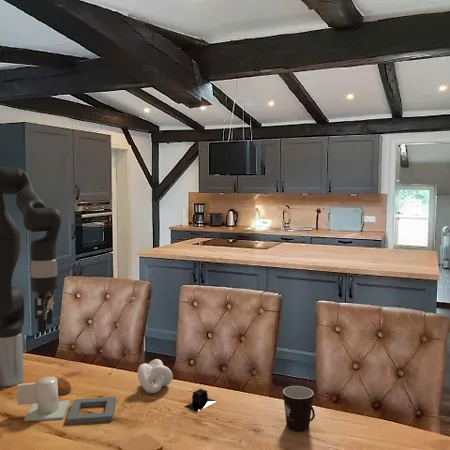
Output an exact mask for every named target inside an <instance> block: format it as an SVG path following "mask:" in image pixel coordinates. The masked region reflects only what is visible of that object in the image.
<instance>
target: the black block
mask: <svg viewBox="0 0 450 450" xmlns="http://www.w3.org/2000/svg"><path fill="white" fill-rule="evenodd" d="M208 395H209V393H208V391H207V390H205V389H202V388H199V389H197V390H195V391H193V392H192V397H191V402H190V403H188V404H186V405H184V408H186V409H189V410H191V411H194V412H196V413H197V412H199V411H201V410H203V409H204V408H206V407H208V406H210V405H212V404H214V403H216V402H217V400H215V399H212V398H209V396H208Z"/></svg>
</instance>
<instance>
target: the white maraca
mask: <svg viewBox="0 0 450 450" xmlns="http://www.w3.org/2000/svg"><path fill="white" fill-rule="evenodd" d="M56 377H57V376H44V377H42V378H38V379H37V380H36V381H35V382H25V383H19V384H16V395H17V396H16V399H17V405H18V406H20V405H21V406H22V405H30V404H31V405H33V403H37V406H38V412H39V413H41V414H49V413H52V412H55V411H56V410H58V408H59V404H58V401H59V394H58V385H57V378H56Z"/></svg>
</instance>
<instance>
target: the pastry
mask: <svg viewBox="0 0 450 450" xmlns="http://www.w3.org/2000/svg"><path fill="white" fill-rule="evenodd" d="M55 377H56V378H57V385H58V395H65V394H67V393H70V392H71V390H72V385H71V383H70V382H69V380H67V379H66V378H63V377H59V376H55Z"/></svg>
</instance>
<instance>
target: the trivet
mask: <svg viewBox="0 0 450 450" xmlns="http://www.w3.org/2000/svg"><path fill="white" fill-rule="evenodd" d="M70 403H71V400H60V401H59V400H58V404H59V408H58V410H56V411H55V412H52V413H49V414H41V413H39V412H38V406H37V403H33V404H31V407H30V408H29V410H28V412H27V413H26V415H25V416H24V419H23V422H34V421H35V422H37V421H50V420H63V419H65V416H66V413H67V411H68V408H69V406H70Z"/></svg>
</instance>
